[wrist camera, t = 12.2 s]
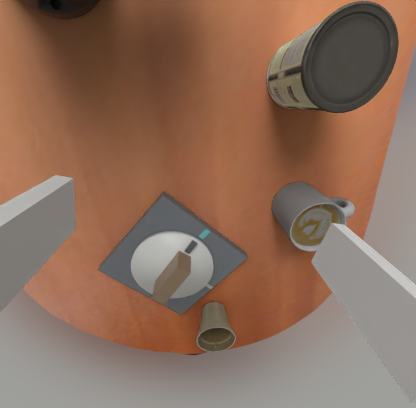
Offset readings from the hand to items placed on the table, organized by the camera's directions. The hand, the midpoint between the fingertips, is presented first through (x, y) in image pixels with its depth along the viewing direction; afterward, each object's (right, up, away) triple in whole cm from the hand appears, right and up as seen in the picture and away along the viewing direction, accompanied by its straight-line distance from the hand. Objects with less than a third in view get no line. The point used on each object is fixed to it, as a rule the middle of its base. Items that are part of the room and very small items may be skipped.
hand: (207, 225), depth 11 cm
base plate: (-8, -12, +40) cm, 43 cm away
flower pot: (+1, -27, +49) cm, 56 cm away
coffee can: (+15, +23, +25) cm, 37 cm away
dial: (-8, -13, +38) cm, 41 cm away
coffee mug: (+20, +1, +36) cm, 41 cm away
